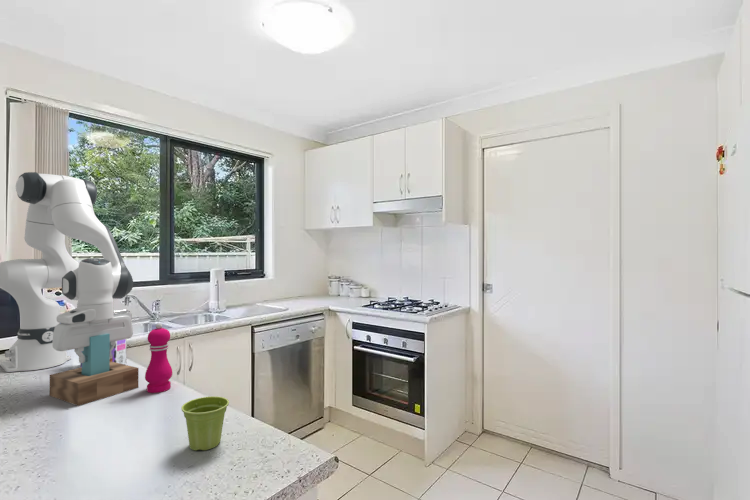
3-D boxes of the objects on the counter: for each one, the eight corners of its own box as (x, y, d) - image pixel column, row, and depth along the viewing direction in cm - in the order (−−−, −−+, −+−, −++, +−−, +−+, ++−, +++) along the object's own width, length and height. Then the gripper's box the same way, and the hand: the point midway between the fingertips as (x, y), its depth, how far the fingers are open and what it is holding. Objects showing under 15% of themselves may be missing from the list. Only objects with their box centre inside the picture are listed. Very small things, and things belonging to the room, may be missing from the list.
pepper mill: (160, 394, 112) (160, 325, 112) (139, 392, 114) (139, 324, 114) (177, 386, 119) (177, 321, 119) (157, 384, 121) (157, 320, 121)
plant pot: (215, 430, 90) (215, 392, 90) (237, 442, 84) (237, 402, 84) (173, 445, 83) (173, 405, 83) (194, 460, 77) (194, 417, 77)
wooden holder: (49, 395, 111) (49, 374, 111) (109, 379, 126) (109, 361, 126) (78, 405, 104) (78, 383, 104) (138, 387, 118) (138, 367, 118)
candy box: (127, 364, 142) (127, 320, 142) (115, 369, 136) (115, 323, 136) (92, 363, 143) (92, 319, 143) (79, 368, 137) (79, 322, 138)
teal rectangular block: (81, 382, 114) (81, 335, 114) (100, 378, 118) (100, 332, 118) (90, 385, 111) (90, 337, 111) (109, 380, 116) (109, 333, 116)
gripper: (125, 307, 126) (125, 350, 125) (49, 317, 107) (49, 366, 107) (137, 309, 123) (137, 352, 122) (61, 318, 105) (60, 370, 104)
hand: (95, 359), depth 115 cm, fingers closed on teal rectangular block, 5 cm apart
